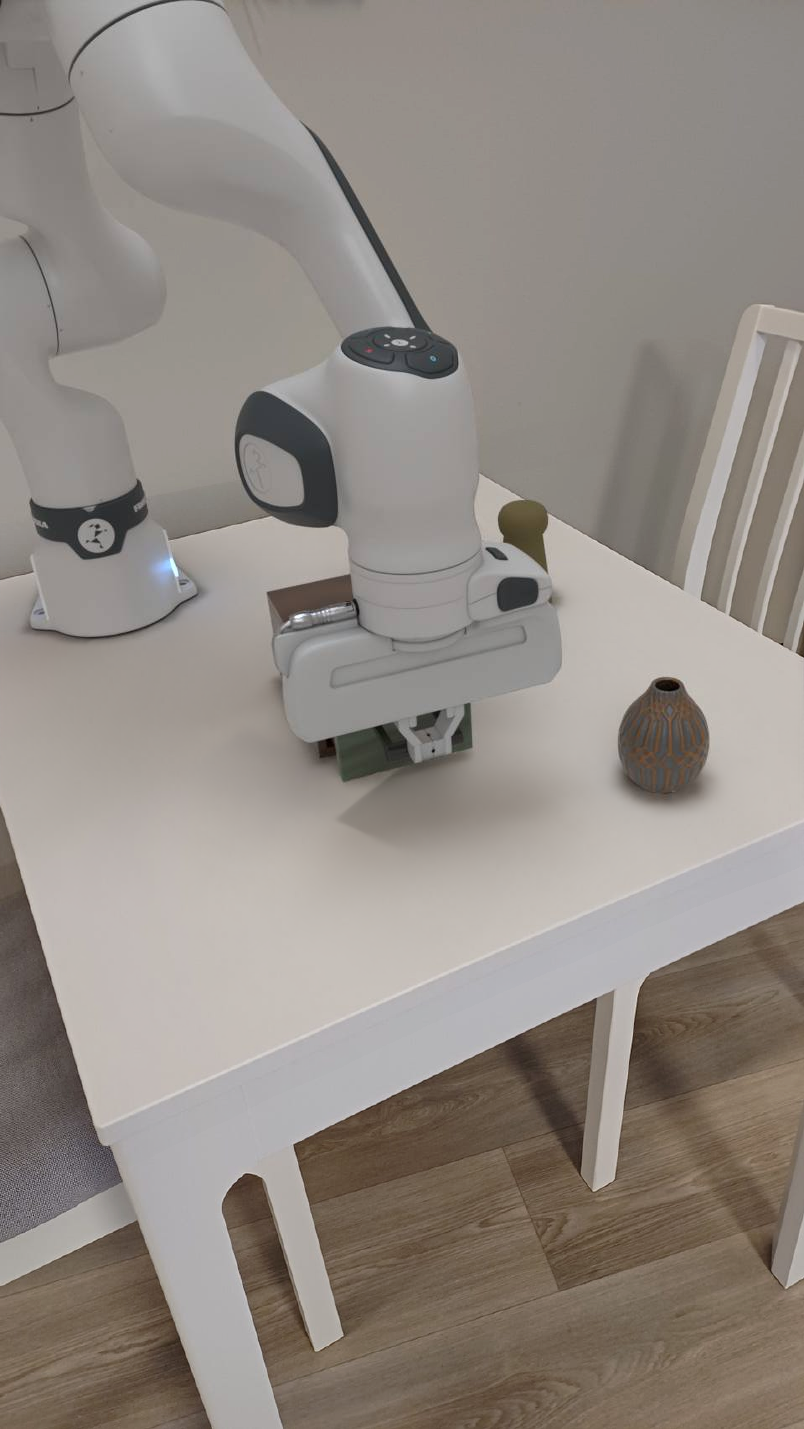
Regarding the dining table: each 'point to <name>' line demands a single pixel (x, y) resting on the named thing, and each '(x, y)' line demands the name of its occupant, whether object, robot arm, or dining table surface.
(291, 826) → the dining table surface
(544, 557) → the olive green pawn
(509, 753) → the dining table surface
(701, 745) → the vase
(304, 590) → the cabinet
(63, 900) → the dining table surface
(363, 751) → the drawer
